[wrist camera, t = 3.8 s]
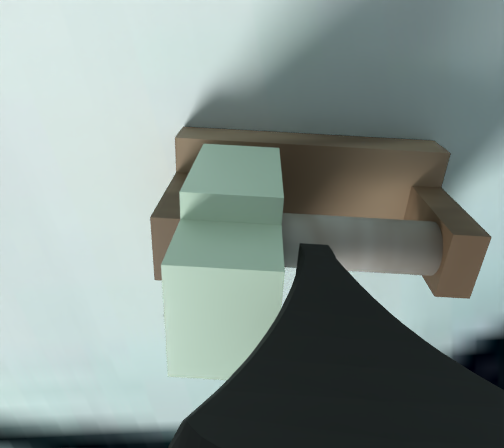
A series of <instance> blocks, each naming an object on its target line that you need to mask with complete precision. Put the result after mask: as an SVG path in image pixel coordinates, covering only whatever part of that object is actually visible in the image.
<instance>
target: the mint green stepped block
mask: <svg viewBox="0 0 504 448" xmlns="http://www.w3.org/2000/svg"><path fill="white" fill-rule="evenodd" d="M179 194H180V221H179V224H178V226H177V228H176V231H175V233H174V235H173V238H172V240H171V242H170V245H169V247H168V249H167V252H166V254H165V257H164V259H163V261H162V264H161V274H162V290H163V306H164V322H165V338H166V354H167V371H168V377H180V378H197V379H213V380H228V379H229V378H230V377H231V375H232V374H233V373H234V372H235V371H236V370H237V369H238V368H239V367H240V366H241V365H242V364H243V362H244V361H245V360H246V359H247V358H248V357H249V355H250V354H251V353H252V352H253V350H254V349H255V348H256V347H257V345H258V344H259V342H260V341H261V340H262V338H263V337H264V336H265V334H266V333H267V331H268V330H269V328H270V327H271V325H272V324H273V322H274V320H275V319H276V317H277V315H278V313H279V312H280V310H281V305H282V295H283V285H284V275H285V268H284V254H283V239H282V214H283V203H284V193H283V182H282V171H281V161H280V150H279V148H273V147H255V146H237V145H219V144H203V146H202V148H201V150H200V152H199V154H198V156H197V158H196V160H195V162H194V164H193V166H192V168H191V170H190V172H189V174H188V176H187V178H186V180H185V182H184V184H183V186H182V188H181V190H180V192H179Z"/></svg>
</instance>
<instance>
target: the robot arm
mask: <svg viewBox="0 0 504 448" xmlns="http://www.w3.org/2000/svg"><path fill="white" fill-rule="evenodd" d="M168 448H504V390H502V389H500V388H499V387H497V386H495V385H493V384H492V383H490V382H488V381H486V380H485V379H483V378H481V377H480V376H478V375H476V374H475V373H473V372H471V371H470V370H468V369H467V368H465V367H463V366H462V365H460V364H459V363H457V362H456V361H454V360H453V359H451V358H449V357H448V356H446V355H445V354H443V353H442V352H440V351H439V350H437V349H436V348H435V347H433V346H432V345H430V344H429V343H427V342H426V341H425V340H423V339H422V338H421V337H419V336H418V335H417V334H416V333H414V332H413V331H412V330H410V329H409V328H408V327H406V326H405V325H404V324H403V323H401V322H400V321H399V320H398V319H397V318H395V317H394V316H393V315H392V314H391V313H389V312H388V311H387V310H386V309H385V308H384V307H383V306H382V305H381V304H380V303H378V302H377V301H376V300H375V299H374V298H373V297H372V296H371V295H370V294H369V293H368V292H367V291H366V290H365V289H364V288H363V287H362V286H361V285H360V284H359V283H358V282H357V281H356V280H355V279H354V278H353V277H352V276H351V274H350V273H349V272H348V271H347V270H346V269H345V268H344V267H343V266H342V264H341V263H340V262H339V261H338V260H337V259H336V256H335V254H334V253H333V251H332V249H331V248H330V247H329V245H323V244H306V243H300V245H299V251H298V260H297V268H296V276H295V279H294V282H293V285H292V287H291V289H290V291H289V294H288V296H287V298H286V300H285V302H284V304H283V306H282V308H281V310H280V312H279V313H278V315H277V317H276V319H275V320H274V322H273V324H272V325H271V327H270V328H269V330H268V331H267V333H266V334H265V336H264V337H263V338H262V340H261V341H260V342H259V344H258V345H257V347H256V348H255V349H254V350H253V352H252V353H251V354H250V355H249V357H248V358H247V359H246V360H245V361H244V362H243V364H242V365H241V366H240V367H239V368H238V369H237V370H236V371H235V372H234V373H233V374H232V375H231V377H230V378H229V379H228V380H227V381H226V382H225V383H224V384H223V385H222V386H221V387H220V388H219V389H218V390H217V391H216V392H215V393H214V394H213V395H211V396H210V397H209V398H208V399H207V400H206V401H205V402H203V403H202V404H201V405H200V406H199V407H198V408H197V409H196V410H194V411H193V412H192V413H191V414H190V415H189V416H188V417H186V418H185V419H184V420H183V421H182V423H181V425H180V427H179V428H178V430H177V432H176V434H175V436H174V438H173V439H172V441H171V443H170V445H169V447H168Z"/></svg>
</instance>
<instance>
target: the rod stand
mask: <svg viewBox="0 0 504 448" xmlns="http://www.w3.org/2000/svg"><path fill="white" fill-rule="evenodd" d="M203 144H219V145H237V146H255V147H273V148H279V150H280V161H281V171H282V182H283V193H284V203H283V214H282V239H283V254H284V267H290V268H297V260H298V251H299V245H300V243H306V244H323V245H329V247H330V248H331V249H332V251H333V253H334V254H335V256H336V259H337V260H338V261H339V262H340V263H341V264H342V266H343V267H344V268H345V269H346V270H347V271H359V272H376V273H393V274H410V275H422V276H423V278H424V280H425V281H426V283H427V285H428V286H429V288H430V290H431V291H432V293H433V295H434V296H435V297H452V298H469V299H470V296H471V293H472V291H473V288H474V285H475V282H476V279H477V277H478V274H479V271H480V268H481V265H482V262H483V260H484V257H485V254H486V251H487V248H488V246H489V243H490V240H491V236H490V235H489V234H488V233H487V232H486V231H485V230H484V229H483V228H482V227H481V226H480V225H479V224H478V223H477V222H476V221H475V220H474V219H473V218H472V217H471V216H470V215H469V214H468V213H467V212H466V211H465V210H464V209H463V208H462V207H461V206H460V205H459V204H458V203H457V202H455V201H454V200H453V199H452V198H451V197H450V196H449V195H448V194H447V193H446V192H445V191H444V190H443V189H442V188H441V186H442V183H443V179H444V176H445V172H446V168H447V165H448V161H449V157H450V154H451V153H450V152H448V151H447V150H446V149H444V148H443V147H442V146H440V145H439V144H438V143H436V142H435V141H431V140H413V139H395V138H377V137H360V136H342V135H324V134H306V133H288V132H270V131H252V130H234V129H216V128H198V127H183V128H182V129H181V130H180V132H179V133H178V134H177V136H176V137H175V151H176V174H175V176H174V177H173V179H172V181H171V182H170V184H169V186H168V188H167V189H166V191H165V193H164V194H163V196H162V198H161V200H160V201H159V203H158V205H157V207H156V208H155V210H154V212H153V213H152V215H151V217H150V221H151V235H152V249H153V263H154V277H155V280H162V274H161V264H162V261H163V259H164V257H165V254H166V252H167V249H168V247H169V245H170V242H171V240H172V238H173V235H174V233H175V231H176V228H177V226H178V224H179V221H180V194H179V192H180V190H181V188H182V186H183V184H184V182H185V180H186V178H187V176H188V174H189V172H190V170H191V168H192V166H193V164H194V162H195V160H196V158H197V156H198V154H199V152H200V150H201V148H202V146H203Z"/></svg>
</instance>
